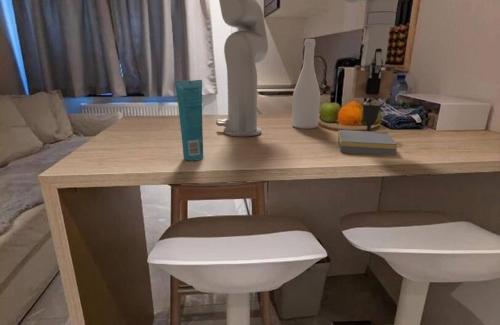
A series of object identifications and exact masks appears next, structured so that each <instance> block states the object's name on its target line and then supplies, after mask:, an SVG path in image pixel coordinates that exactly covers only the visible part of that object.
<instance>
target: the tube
mask: <svg viewBox="0 0 500 325" xmlns="http://www.w3.org/2000/svg"><path fill="white" fill-rule="evenodd" d="M174 85H175V93H176V99H177V100H176V101H177V107H178V115H179V123H180V133H181V142H182V153H183V159H184V160H185V161H190V162H191V161H192V162H193V161H200V160H202V159H203V158H204V140H203V139H204V135H203V133H204V131H203V80H202V79H192V80H175V81H174Z"/></svg>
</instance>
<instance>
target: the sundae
mask: <svg viewBox="0 0 500 325" xmlns="http://www.w3.org/2000/svg"><path fill="white" fill-rule="evenodd" d="M360 105H361V106H362V117H363V118H362V119H363V122H364V123H365V124H366V125H367V126H366V130H365V131H369V132H372V130H371V128H372V125H373V124H375V123H376V122H377V119H378V117H379V115H380V109H381V108H382V107H383V106H384V104H383V103H381V101H380V99H379V98H363V102H362V103H361V104H360Z"/></svg>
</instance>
